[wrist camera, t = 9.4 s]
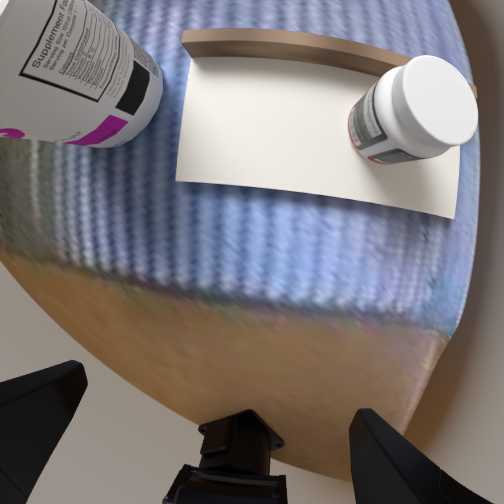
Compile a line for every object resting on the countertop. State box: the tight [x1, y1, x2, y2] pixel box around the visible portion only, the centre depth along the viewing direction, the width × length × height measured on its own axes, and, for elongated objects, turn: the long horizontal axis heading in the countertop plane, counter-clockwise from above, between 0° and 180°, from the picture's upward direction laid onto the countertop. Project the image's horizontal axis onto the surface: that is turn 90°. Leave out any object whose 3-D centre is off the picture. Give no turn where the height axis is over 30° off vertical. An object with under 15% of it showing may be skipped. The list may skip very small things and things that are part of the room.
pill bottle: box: [347, 55, 478, 165], centre depth 12 cm, size 5×5×8 cm
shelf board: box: [175, 28, 477, 219], centre depth 15 cm, size 20×10×4 cm, turn 85°
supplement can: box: [0, 0, 163, 148], centre depth 10 cm, size 8×8×15 cm
